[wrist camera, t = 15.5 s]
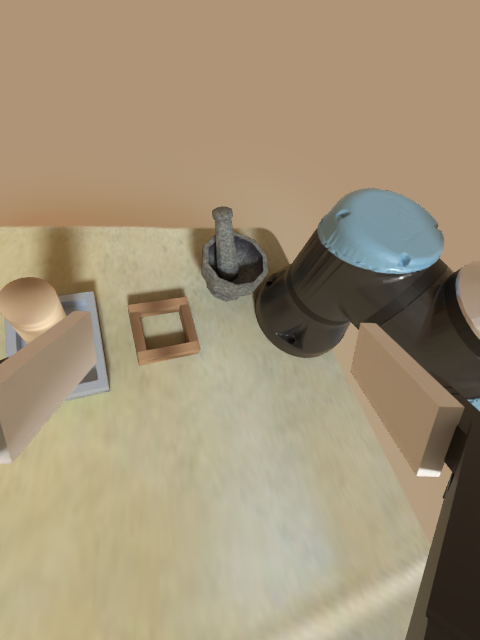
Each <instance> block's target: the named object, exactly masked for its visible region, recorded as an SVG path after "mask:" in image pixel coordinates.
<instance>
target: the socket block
mask: <svg viewBox="0 0 480 640" xmlns="http://www.w3.org/2000/svg"><path fill="white" fill-rule="evenodd" d="M178 311H179V315H180V318H181V322H182V326H183V330H184V334H185V338H186V342H187V343H183V344H178V345H172V346H167V347H162V348H157V349H152V350H147V349H146V344H145V340H144V335H143V330H142V325H141V320H140V317H146V316H152V315H159V314H165V313H171V312H178ZM128 312H129V317H130V322H131V327H132V332H133V337H134V342H135V347H136V353H137V358H138V363H139V366H140V365H144V364H149V363H154V362H159V361H164V360H168V359H173V358H178V357H183V356H188V355H192V354H197V353H198V352H199V350H200V345H199V342H198V338H197V334H196V331H195V327H194V323H193V319H192V316H191V312H190V308H189V305H188V301H187V297H181V298H174V299H166V300H159V301H152V302H145V303H138V304H131V305H128Z"/></svg>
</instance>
